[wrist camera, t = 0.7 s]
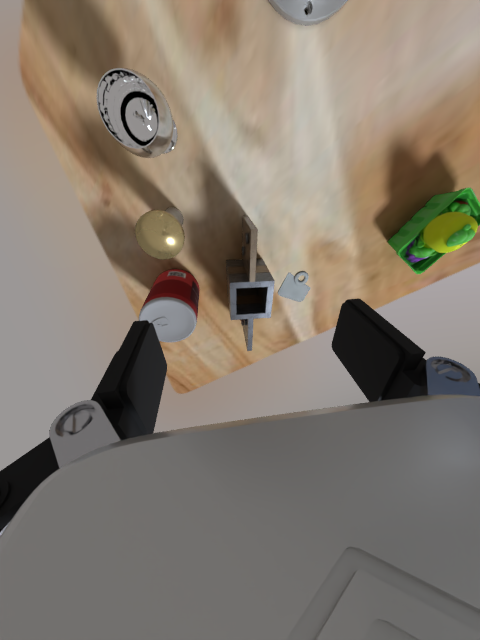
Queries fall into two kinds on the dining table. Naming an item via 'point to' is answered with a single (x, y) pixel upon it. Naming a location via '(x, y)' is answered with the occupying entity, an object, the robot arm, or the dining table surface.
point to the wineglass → (136, 113)
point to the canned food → (172, 305)
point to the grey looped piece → (294, 287)
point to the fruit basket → (438, 229)
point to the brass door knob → (161, 233)
